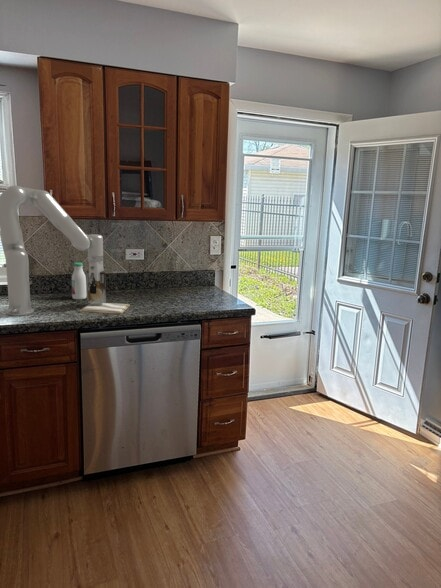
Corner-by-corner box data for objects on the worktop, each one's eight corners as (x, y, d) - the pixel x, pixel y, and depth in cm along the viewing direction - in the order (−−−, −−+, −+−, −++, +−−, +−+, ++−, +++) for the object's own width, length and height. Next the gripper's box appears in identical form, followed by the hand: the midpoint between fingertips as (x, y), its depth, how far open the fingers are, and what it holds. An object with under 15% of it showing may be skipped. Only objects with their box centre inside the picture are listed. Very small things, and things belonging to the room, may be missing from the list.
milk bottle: (88, 296, 241) (87, 262, 237) (84, 300, 234) (83, 264, 229) (74, 296, 241) (73, 261, 236) (70, 299, 233) (69, 263, 229)
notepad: (120, 314, 210) (120, 312, 210) (79, 311, 211) (79, 309, 211) (130, 305, 227) (130, 303, 226) (91, 303, 228) (91, 301, 227)
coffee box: (104, 299, 227) (104, 270, 223) (106, 302, 221) (105, 272, 217) (86, 300, 223) (86, 270, 220) (87, 303, 217) (87, 272, 214)
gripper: (96, 261, 208) (97, 295, 212) (108, 256, 225) (108, 288, 229) (82, 260, 209) (82, 294, 213) (94, 256, 226) (95, 287, 230)
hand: (96, 291), depth 221 cm, fingers closed on coffee box, 8 cm apart
